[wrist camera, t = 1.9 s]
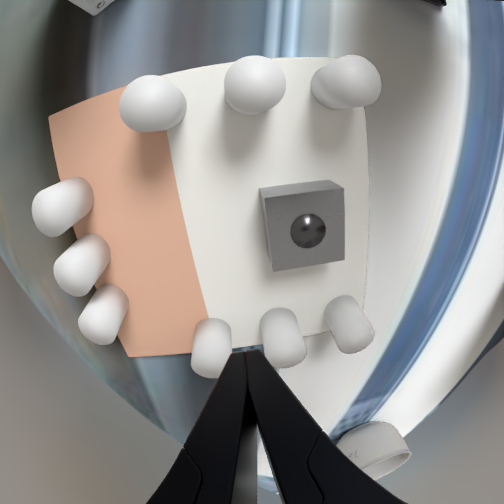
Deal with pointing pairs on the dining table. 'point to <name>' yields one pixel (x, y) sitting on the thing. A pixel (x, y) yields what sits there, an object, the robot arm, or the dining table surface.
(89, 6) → the skincare box
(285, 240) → the nut
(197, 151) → the board
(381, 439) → the teacup
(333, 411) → the dining table surface
